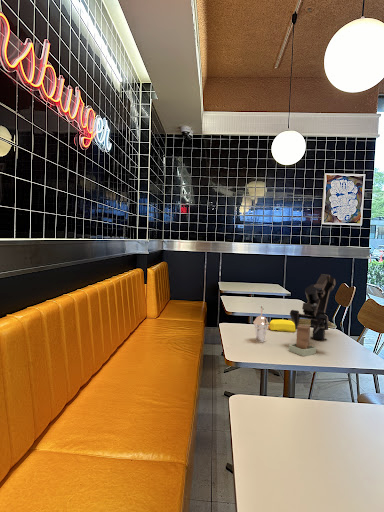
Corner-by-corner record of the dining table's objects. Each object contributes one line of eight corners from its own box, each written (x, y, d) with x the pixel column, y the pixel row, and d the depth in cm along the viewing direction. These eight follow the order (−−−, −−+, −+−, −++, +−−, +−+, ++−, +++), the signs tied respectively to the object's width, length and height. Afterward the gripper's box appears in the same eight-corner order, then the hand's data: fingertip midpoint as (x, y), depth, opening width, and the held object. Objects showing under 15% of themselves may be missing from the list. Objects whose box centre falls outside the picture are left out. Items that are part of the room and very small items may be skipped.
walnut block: (298, 350, 174) (300, 324, 174) (308, 352, 172) (310, 326, 171) (295, 352, 170) (297, 326, 170) (305, 354, 168) (307, 328, 167)
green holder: (301, 348, 177) (301, 342, 177) (315, 353, 169) (316, 347, 169) (288, 350, 172) (288, 344, 172) (303, 356, 165) (303, 350, 164)
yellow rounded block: (298, 333, 209) (295, 330, 217) (299, 322, 209) (295, 319, 216) (268, 331, 210) (266, 328, 217) (269, 320, 209) (267, 317, 217)
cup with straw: (270, 341, 187) (273, 305, 187) (262, 344, 181) (264, 307, 180) (257, 337, 193) (259, 302, 192) (248, 340, 186) (250, 304, 186)
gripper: (292, 294, 182) (283, 318, 173) (328, 299, 171) (321, 325, 163) (295, 307, 189) (287, 330, 180) (331, 312, 178) (324, 338, 169)
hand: (304, 331), depth 173 cm, fingers open, 9 cm apart
